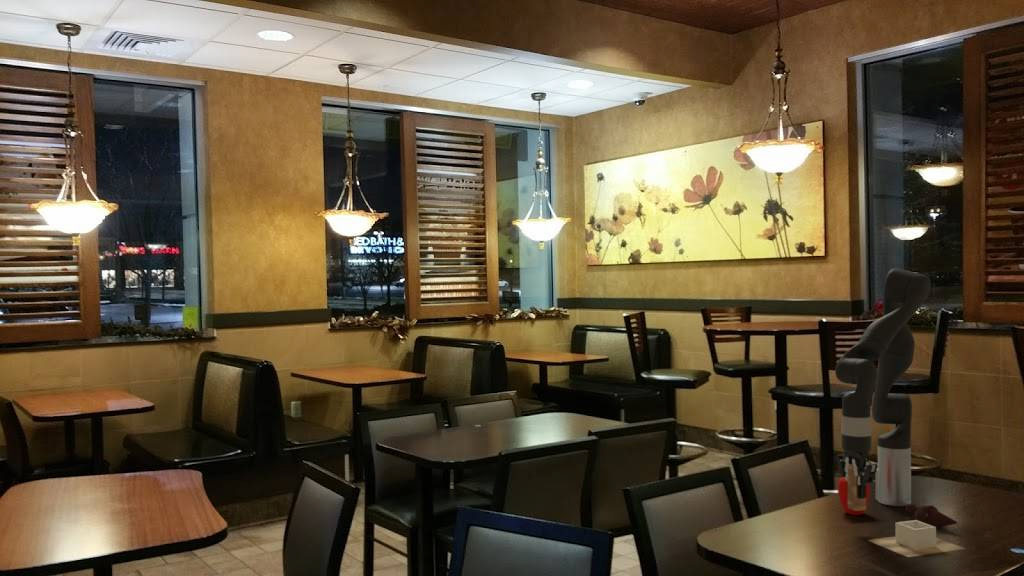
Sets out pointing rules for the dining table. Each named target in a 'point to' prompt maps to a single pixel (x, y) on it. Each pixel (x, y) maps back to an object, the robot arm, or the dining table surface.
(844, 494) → the apple
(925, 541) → the white square box
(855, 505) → the square wooden post
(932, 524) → the icecream
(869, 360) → the robot arm
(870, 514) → the dining table surface
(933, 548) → the wooden board
